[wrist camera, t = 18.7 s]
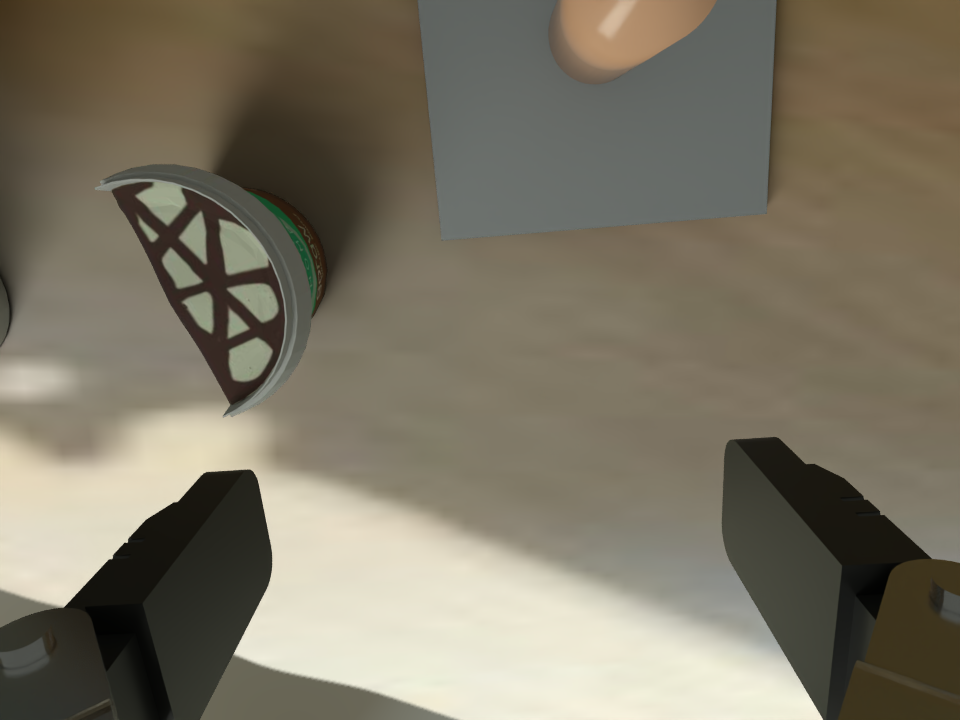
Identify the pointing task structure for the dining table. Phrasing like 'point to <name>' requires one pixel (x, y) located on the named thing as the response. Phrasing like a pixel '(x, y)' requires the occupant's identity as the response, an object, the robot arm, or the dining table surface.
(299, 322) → the food container
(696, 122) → the charcoal board
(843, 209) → the dining table surface
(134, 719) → the robot arm
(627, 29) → the peach cylinder
